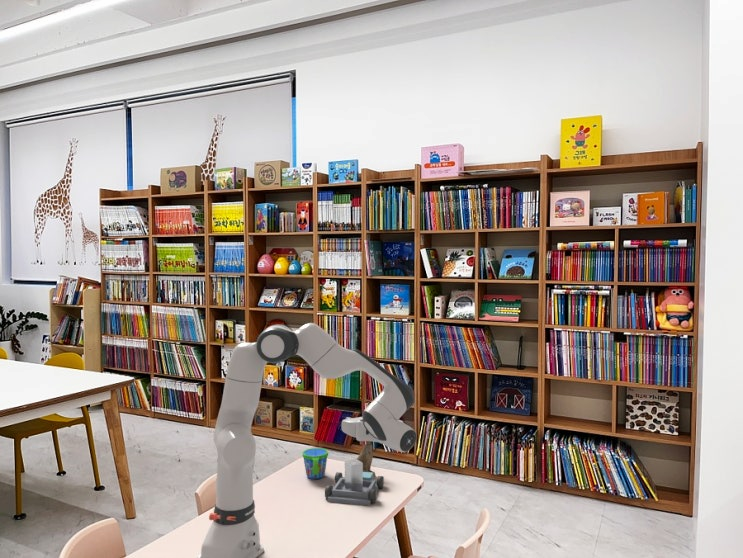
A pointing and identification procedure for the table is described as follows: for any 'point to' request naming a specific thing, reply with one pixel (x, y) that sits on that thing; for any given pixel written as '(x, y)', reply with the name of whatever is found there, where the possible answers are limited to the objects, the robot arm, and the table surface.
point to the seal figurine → (366, 457)
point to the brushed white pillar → (354, 475)
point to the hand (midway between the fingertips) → (358, 417)
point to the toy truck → (354, 497)
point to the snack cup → (315, 462)
